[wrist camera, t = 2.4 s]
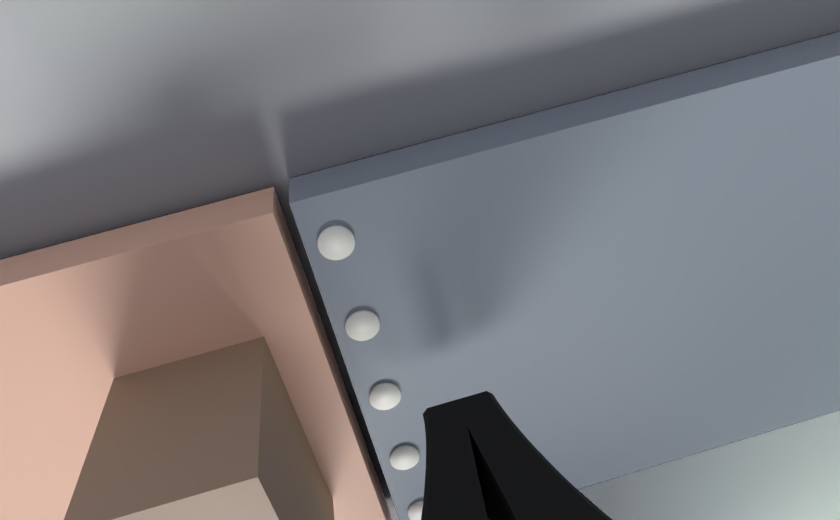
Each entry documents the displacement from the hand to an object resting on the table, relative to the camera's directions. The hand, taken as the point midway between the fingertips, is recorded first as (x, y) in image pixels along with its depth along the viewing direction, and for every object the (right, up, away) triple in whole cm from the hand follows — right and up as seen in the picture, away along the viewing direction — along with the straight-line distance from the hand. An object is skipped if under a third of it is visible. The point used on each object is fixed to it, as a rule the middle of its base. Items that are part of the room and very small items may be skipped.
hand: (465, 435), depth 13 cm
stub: (-7, 0, +2) cm, 7 cm away
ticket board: (+4, +3, +3) cm, 6 cm away
